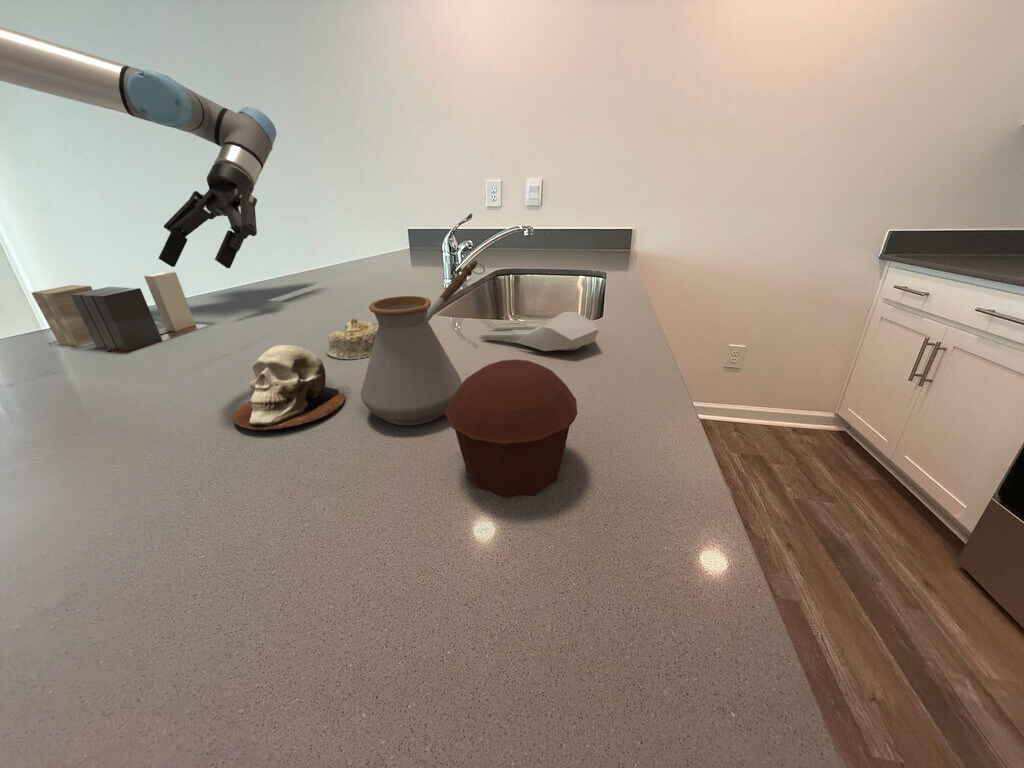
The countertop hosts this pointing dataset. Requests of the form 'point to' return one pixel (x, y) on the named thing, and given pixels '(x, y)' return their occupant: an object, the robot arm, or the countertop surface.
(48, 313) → the tan wooden block
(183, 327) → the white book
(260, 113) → the robot arm
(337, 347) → the cake
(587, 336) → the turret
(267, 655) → the countertop surface
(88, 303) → the grey stand
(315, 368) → the skull
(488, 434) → the muffin
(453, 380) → the coffee pot
